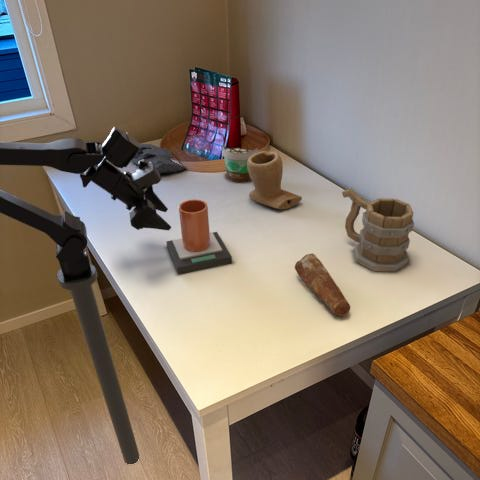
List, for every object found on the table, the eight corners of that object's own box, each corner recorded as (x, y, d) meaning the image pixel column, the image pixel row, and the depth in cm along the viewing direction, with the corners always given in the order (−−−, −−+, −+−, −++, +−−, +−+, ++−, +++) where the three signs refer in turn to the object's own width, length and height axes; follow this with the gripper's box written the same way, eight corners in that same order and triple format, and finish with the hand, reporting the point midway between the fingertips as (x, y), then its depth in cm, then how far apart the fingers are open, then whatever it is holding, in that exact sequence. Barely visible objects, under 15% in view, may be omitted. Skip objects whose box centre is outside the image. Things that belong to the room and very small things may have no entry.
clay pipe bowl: (239, 201, 148) (238, 153, 138) (265, 188, 154) (266, 142, 145) (276, 218, 140) (278, 168, 130) (302, 204, 146) (306, 155, 136)
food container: (217, 181, 159) (216, 151, 153) (223, 173, 164) (222, 144, 157) (254, 185, 156) (253, 155, 150) (259, 177, 161) (259, 147, 154)
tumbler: (179, 250, 124) (174, 211, 116) (188, 236, 129) (184, 198, 122) (205, 253, 122) (202, 214, 115) (213, 239, 127) (211, 201, 120)
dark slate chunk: (146, 181, 161) (144, 167, 157) (126, 158, 175) (124, 145, 172) (189, 171, 166) (187, 157, 163) (166, 149, 181) (164, 136, 177)
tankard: (416, 258, 123) (429, 204, 113) (385, 278, 117) (397, 223, 107) (353, 228, 135) (361, 177, 125) (323, 245, 129) (328, 193, 119)
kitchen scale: (178, 274, 120) (177, 265, 118) (167, 247, 130) (165, 239, 128) (231, 263, 123) (231, 254, 122) (217, 237, 133) (216, 229, 131)
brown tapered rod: (315, 269, 120) (317, 250, 117) (353, 316, 107) (357, 296, 103) (292, 274, 119) (293, 255, 115) (327, 323, 105) (330, 303, 102)
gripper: (137, 172, 101) (194, 214, 109) (134, 139, 114) (184, 179, 123) (106, 210, 105) (163, 248, 113) (106, 174, 118) (157, 210, 127)
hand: (168, 219), depth 119 cm, fingers open, 9 cm apart
